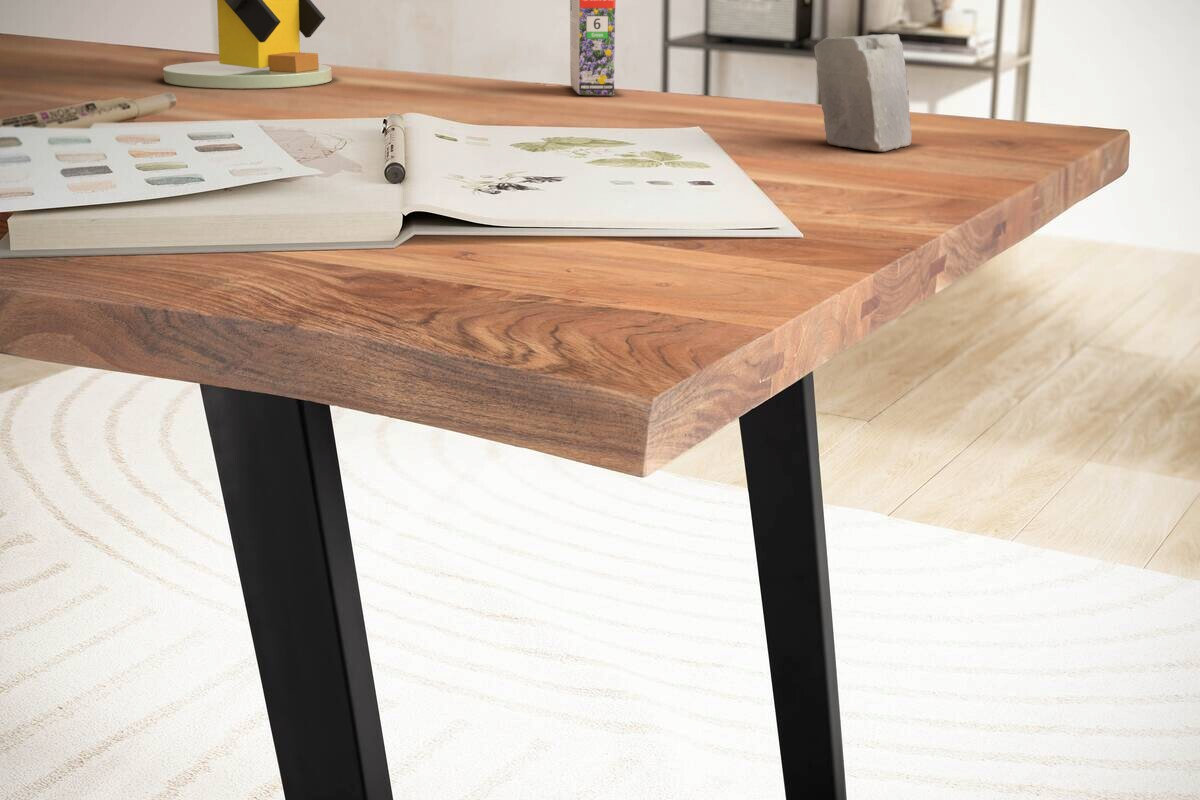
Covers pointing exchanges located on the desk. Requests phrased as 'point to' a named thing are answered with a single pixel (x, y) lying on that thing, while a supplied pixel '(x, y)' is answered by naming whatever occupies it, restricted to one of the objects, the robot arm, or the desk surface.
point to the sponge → (245, 47)
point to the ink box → (592, 46)
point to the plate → (241, 76)
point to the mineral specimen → (864, 91)
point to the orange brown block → (293, 62)
